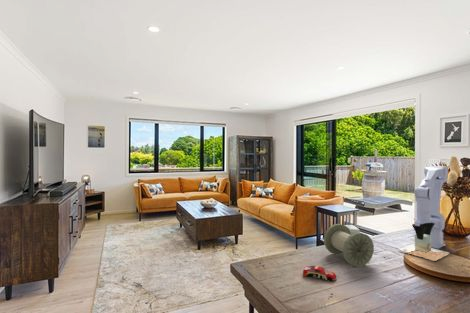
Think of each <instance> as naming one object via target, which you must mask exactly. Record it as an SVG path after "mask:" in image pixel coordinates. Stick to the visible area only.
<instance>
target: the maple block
mask: <svg viewBox="0 0 470 313" xmlns="http://www.w3.org/2000/svg"><path fill="white" fill-rule="evenodd" d="M414 244H415V250H416V251H421V252H425V253H427V252H429V251H431V248H432V247H431V243H430V244H428V245H423V244H419V243H415V242H414Z"/></svg>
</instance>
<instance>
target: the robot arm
mask: <svg viewBox="0 0 470 313" xmlns="http://www.w3.org/2000/svg"><path fill="white" fill-rule="evenodd" d="M423 168H424V169H423V172H424V176H425V178H424V179H422V180H421V182H420V184H419V186H417V187H415V189H414V198H415V202H416V217H415V218H413V220H414V223H412V226H411V227H412V228H413V229H414V231H415V234H416V235H417V239H420V240H423V237H424V234H427V235H430V243H431V248H433V249H437V250H440V249H441V248H442V247H444V246H446V244H445V243H444V232H443V230H444V229H445V226H446V222H445V218H446V217H445V216H444V215H443V214H442V213H441V212H440V206H441V196H442V195H441V194H442V188H443V184H444V183H447V180H448V175H449V168H448V167H447V166H446V165H427V164H426V165H425V166H424V167H423Z"/></svg>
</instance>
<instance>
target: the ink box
mask: <svg viewBox="0 0 470 313" xmlns="http://www.w3.org/2000/svg"><path fill="white" fill-rule="evenodd" d="M344 226H346V227H347V228H348V229H349V230H350V233H351V235H352V234H353V233H358V232H360V231H361V230H360V229H359V227H357V226H355V225H354V224H345V225H344Z"/></svg>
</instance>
